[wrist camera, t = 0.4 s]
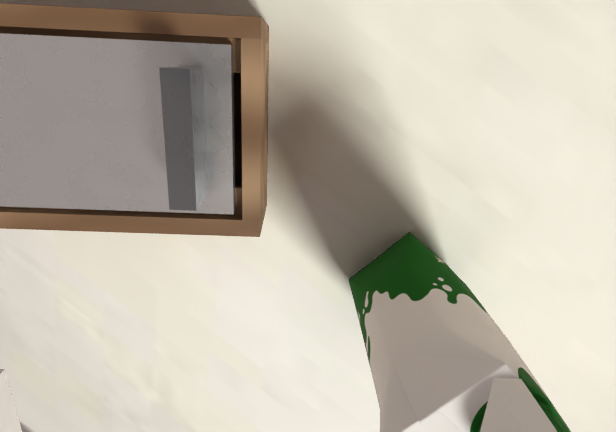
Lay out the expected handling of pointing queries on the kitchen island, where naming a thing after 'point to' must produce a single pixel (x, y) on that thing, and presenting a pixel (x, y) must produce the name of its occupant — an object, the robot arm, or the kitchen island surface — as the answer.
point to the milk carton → (432, 344)
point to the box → (247, 113)
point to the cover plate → (116, 124)
